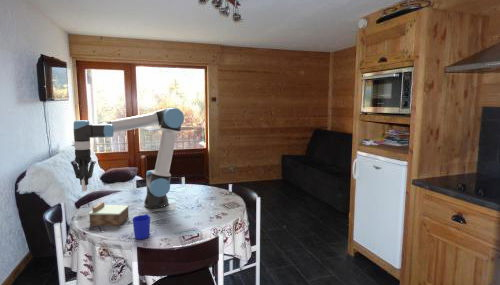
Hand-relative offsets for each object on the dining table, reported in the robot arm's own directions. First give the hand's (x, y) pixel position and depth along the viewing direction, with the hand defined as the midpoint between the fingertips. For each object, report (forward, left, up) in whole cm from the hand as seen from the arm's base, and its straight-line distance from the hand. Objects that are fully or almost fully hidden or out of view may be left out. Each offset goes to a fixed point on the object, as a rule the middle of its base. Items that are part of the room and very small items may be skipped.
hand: (84, 190), depth 167 cm
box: (-13, 0, -18) cm, 22 cm away
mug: (-38, +17, -18) cm, 45 cm away
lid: (-13, 0, -11) cm, 17 cm away
